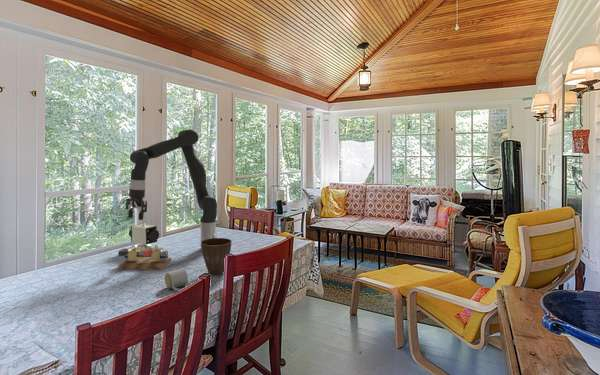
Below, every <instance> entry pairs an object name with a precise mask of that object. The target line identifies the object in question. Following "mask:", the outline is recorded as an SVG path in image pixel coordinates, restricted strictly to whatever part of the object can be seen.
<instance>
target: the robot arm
mask: <svg viewBox="0 0 600 375" xmlns="http://www.w3.org/2000/svg"><path fill="white" fill-rule="evenodd" d="M198 141H199V134H198V132H197V131H196V130H193V129H183V130H180V131H179V132H178V134H177V136H176V137H173V138H169V139H167V140H163V141H159V142H157V143H155V144H151V145H150V146H148V147H144V148H140V149H137V150H134V151H132V152H131V153H130V155H129V160H130V162H131V163H133V164H134V167H133V169H131V172H130V182H129V190H128V191H129V193H128V198H126V202H125V209H126V210H127V211H128V213H127V216H128V217H127V218H130V219H132V218H133V217H134V210H135V208H136V209H137V211H138V220H139V221H143V220H144V213H147V212H148V201H147V200H144V198H145V196H146V173H147V170H148V166H149V163H150V160H152V159H156V158H159V157H162V156H164V155H167V154H168V153H170V152H173V151H175V150H177V149H180V148H181V151H182V153H183V156H184V158H185V163H186V166H187V169H188V172H189V176H190V178H191V182H192V185H193V187H194V191H195V194H196V199H197V200H196V201H197V204H198V207H199V209H200V210H202V216H201V217H200V224H199V226H200V242H201V241H203V240H206V239H211V238H218V237H217V236H218V233H217V231H216V230H217V229H216V227H217V225H216V224H217V223H216V222H217V220H216V219H217V218H218V217H217V216H218V202H217V200H216V198H215V197H213V196H210V195H209V191H208V189H207V172H206V169H205V166H204V163H203V162H202V160H201V158H200V157H199V156H198V155H197V153H196V151H195V148H194V145H195V144H196V143H198ZM200 250H201V251H202V248H201V247H200Z"/></svg>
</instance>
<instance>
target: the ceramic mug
mask: <svg viewBox="0 0 600 375" xmlns="http://www.w3.org/2000/svg"><path fill="white" fill-rule="evenodd" d="M188 276H189V275H188V273H187V271H186V269H185V268H183V267H181V268H179V269H175V270H173V271H169V272H167V273H165V275H164V284H165V286H166V288H167V289H168V290H170V289H171V290H172V289H173V290H174V291H175V292H178V291H179V290H181V289H183V288H184V287H186V286H187V287H188V284H189V278H188ZM181 287H183V288H181ZM187 287H186V288H187Z"/></svg>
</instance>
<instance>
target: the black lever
mask: <svg viewBox="0 0 600 375" xmlns="http://www.w3.org/2000/svg"><path fill="white" fill-rule="evenodd" d="M137 246H138V245H137V244H134V245H131V246H130V247H129V248H122V249H120V250H119V251H117V252H118V254H117V255H118V257H124V256H125V255H126V254H128V252H129V251H131V250H132V249H135V248H137Z"/></svg>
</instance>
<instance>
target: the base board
mask: <svg viewBox="0 0 600 375" xmlns="http://www.w3.org/2000/svg"><path fill="white" fill-rule="evenodd" d="M172 261H173V258H172V257H168V261H167V262H166V263H161V260H151V257H141V258H139V259H138V260H131V261H130V262H128V263H123V262H122V263H119V265H118V270H163V269H164V268H166V267H167V266H168V265H169V264H170V263H172Z"/></svg>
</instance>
